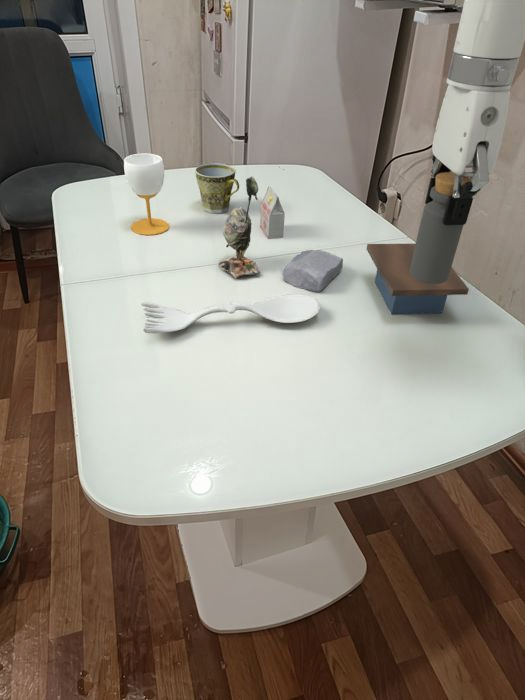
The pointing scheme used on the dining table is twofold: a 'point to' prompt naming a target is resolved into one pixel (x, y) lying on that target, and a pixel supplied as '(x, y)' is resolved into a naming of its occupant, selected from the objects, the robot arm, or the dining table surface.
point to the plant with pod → (240, 236)
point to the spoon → (273, 309)
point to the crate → (410, 301)
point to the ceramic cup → (216, 186)
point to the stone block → (312, 269)
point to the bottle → (436, 235)
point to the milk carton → (272, 215)
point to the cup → (146, 188)
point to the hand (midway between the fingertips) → (444, 213)
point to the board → (396, 272)
